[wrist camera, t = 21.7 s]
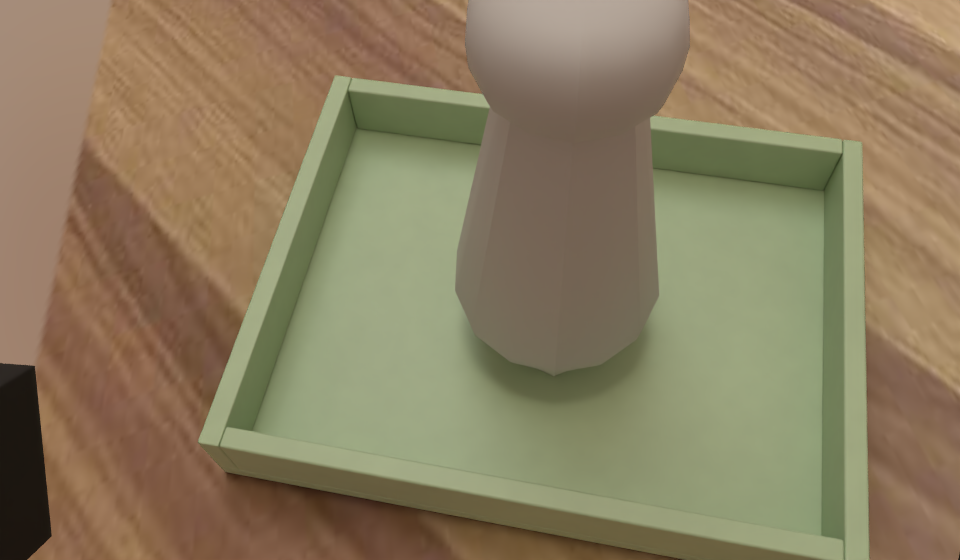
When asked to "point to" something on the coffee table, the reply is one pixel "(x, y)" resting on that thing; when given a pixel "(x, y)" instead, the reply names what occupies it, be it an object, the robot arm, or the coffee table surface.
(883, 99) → the coffee table surface
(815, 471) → the tray
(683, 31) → the salt shaker
